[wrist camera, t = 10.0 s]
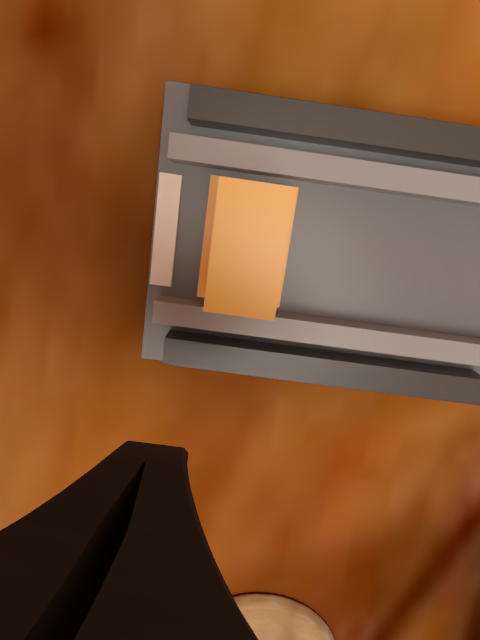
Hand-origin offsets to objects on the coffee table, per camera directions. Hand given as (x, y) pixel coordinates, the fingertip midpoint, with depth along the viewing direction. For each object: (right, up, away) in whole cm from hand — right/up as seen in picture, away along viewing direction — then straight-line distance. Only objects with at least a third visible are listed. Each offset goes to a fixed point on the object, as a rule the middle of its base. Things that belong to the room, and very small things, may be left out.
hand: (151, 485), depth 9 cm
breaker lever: (+2, +6, +6) cm, 9 cm away
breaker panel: (+6, +6, +8) cm, 12 cm away
